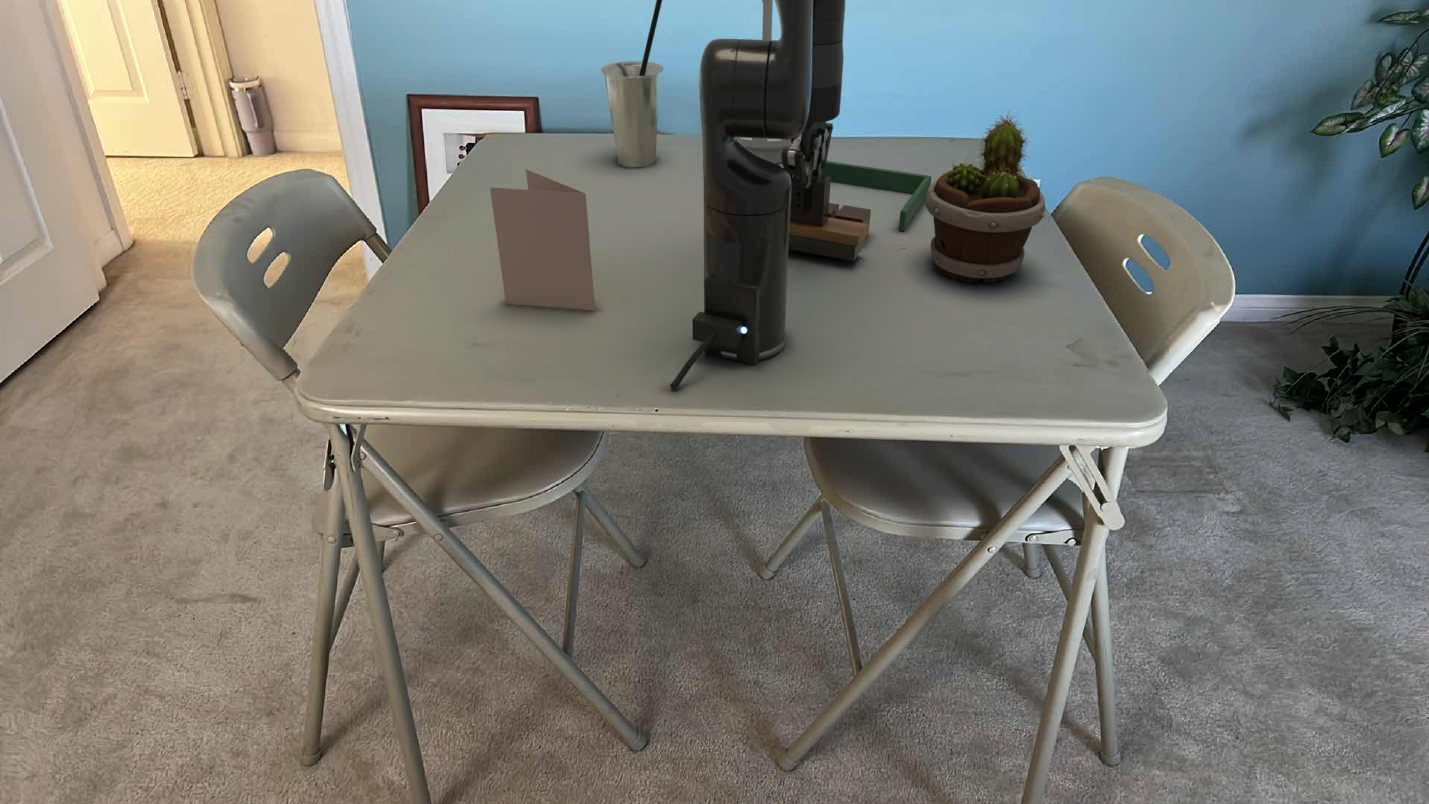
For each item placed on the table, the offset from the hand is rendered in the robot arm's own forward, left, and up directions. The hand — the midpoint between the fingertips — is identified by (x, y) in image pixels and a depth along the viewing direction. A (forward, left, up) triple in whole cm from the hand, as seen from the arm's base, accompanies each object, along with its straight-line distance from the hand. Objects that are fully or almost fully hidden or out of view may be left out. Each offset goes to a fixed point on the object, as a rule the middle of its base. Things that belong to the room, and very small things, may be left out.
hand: (804, 208), depth 125 cm
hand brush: (0, 0, -5) cm, 5 cm away
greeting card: (-27, +24, -7) cm, 36 cm away
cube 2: (+7, 0, -6) cm, 10 cm away
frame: (+20, 0, -6) cm, 21 cm away
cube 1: (+7, -5, -6) cm, 11 cm away
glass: (+24, +38, -7) cm, 46 cm away
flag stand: (+36, +20, -7) cm, 42 cm away
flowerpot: (+5, -23, -7) cm, 24 cm away
